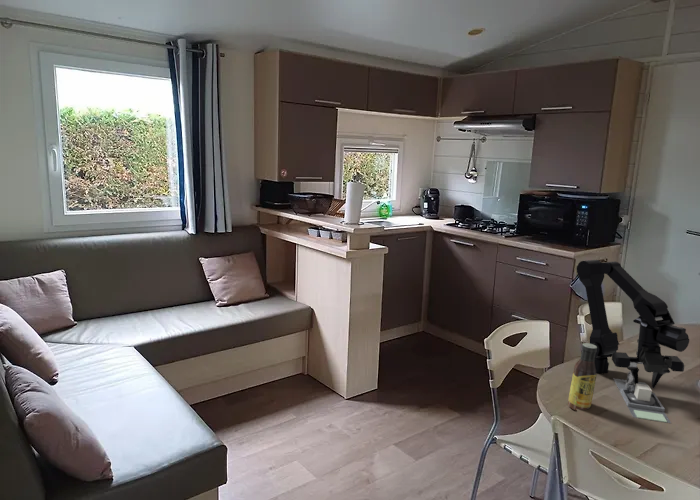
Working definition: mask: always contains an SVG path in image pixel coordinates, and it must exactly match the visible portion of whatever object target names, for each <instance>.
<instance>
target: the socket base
mask: <svg viewBox="0 0 700 500" xmlns="http://www.w3.org/2000/svg"><path fill="white" fill-rule="evenodd" d="M613 381H614V383H615V385H616V387H617V388H618V389H617V390H618V391H619V393H620V395H621V397H622V399H623V400H624V401H623V402H625V404H626V407H627V408H628V411H629V413H630V415H631V416H632V418H635V419H641V420H646V421H647V420H648V421H652V422H653V421H654V422H660V423H667V424H672V422H671V420H670V419H669V418H668V415H667V414H666V412H665V411H666V408H665V407H664V405H663V404H662V402H661V400H660V399H659V397H658V396H657V394H656V393H655V392H653V391H652V392H651V397H653V398H654V399H655V405H654V406H648V405H641V404H635V403H632V402H630V401H629V399H628V397H629V393H631V392H635V387H636V386H635V384H633V383H632V384H633V389H632V391H628V390H625V385H626V383H628V382H627V379H620V378H615V377H613ZM638 384H644V385H648V384H647V383H646V382H644V381H643V382H641V381H638Z"/></svg>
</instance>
